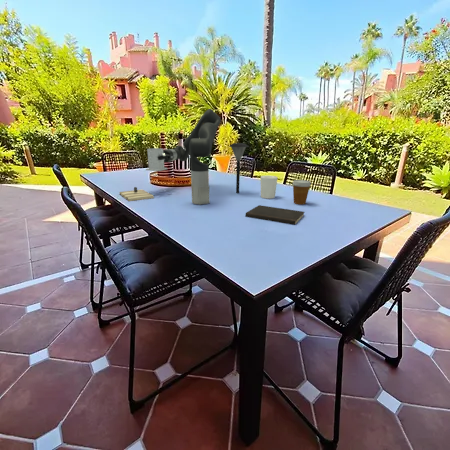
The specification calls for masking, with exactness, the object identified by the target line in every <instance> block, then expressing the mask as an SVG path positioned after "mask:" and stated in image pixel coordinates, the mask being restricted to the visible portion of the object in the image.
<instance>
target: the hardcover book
mask: <svg viewBox="0 0 450 450" xmlns="http://www.w3.org/2000/svg"><path fill="white" fill-rule="evenodd" d="M305 212H306V211H301V210H294V209H288V208H281V207H274V206H267V205H262V204H261V205H260V204H259V205H257V206H255V207H253V208H252V209H250V210H248V211H246V212H245V214H244V215H245V218H252V219H258V220H264V221H269V222H275V223H281V224H286V225H287V224H288V225H290V226H291V225H292V226H295V225H296V224H297V223H298V222H299V221H300V220H301V219H302V218H303V217H304V215H305Z"/></svg>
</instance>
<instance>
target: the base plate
mask: <svg viewBox="0 0 450 450" xmlns="http://www.w3.org/2000/svg"><path fill="white" fill-rule="evenodd" d="M119 195H120V196H121V197H123V199H125V200H127V201H128V202H133V201H134V202H135V201H142V200H149V199H155V196H154V195H153V194H151V193H150V192H148V191H146V190H145V189H138V187H137V186H134V188H133V190H126V191H125V190H124V191H119Z"/></svg>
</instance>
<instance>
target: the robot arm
mask: <svg viewBox="0 0 450 450" xmlns="http://www.w3.org/2000/svg"><path fill="white" fill-rule="evenodd" d="M220 124H221V117H220V116H219V115H218V113H216V112H215V111H214V110H213V109H212V108H208V109H207V110H206V111H204V113H203V115H202V116H201V117H200V119H198V122H196V124H195V126H194V128H193V130H192V131H191V133H190V134H189V135H188V136H187V137H186V139H185V140H184V142H183V143H182V144H183V146H182V145H178V146H176V147H174V148H171V149H170V148H168V149H163V156H158V160H164V163H170V162H173V161H178V160H179V161H181V162H186V161H187V160H188V159H189V162H190V179H191V180H190V182H191V184H190V185H191V186H190V187H191V203H192V204H194V205H207V204H210V184H209V179H210V178H209V177H210V175H209V174H210V173H209V170H210V169H209V165H208V164H207V163H204V162H202V161H201V160H199V158H208V157H210V155H211V153H212V148H213V142H214V139H215V137H216V133H217V129H218V128H219V126H220Z"/></svg>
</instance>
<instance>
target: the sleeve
mask: <svg viewBox="0 0 450 450" xmlns="http://www.w3.org/2000/svg"><path fill="white" fill-rule="evenodd" d="M163 150H164V148H160V147H159V148H155V147H154V148H153V147H152V148H151V147H150V148H147V149H146V151H147V162H148V168H145V171H149V172H161V171H162V172H163V171H167V170H168V167H165V162H164V160H158V156H163Z"/></svg>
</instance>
